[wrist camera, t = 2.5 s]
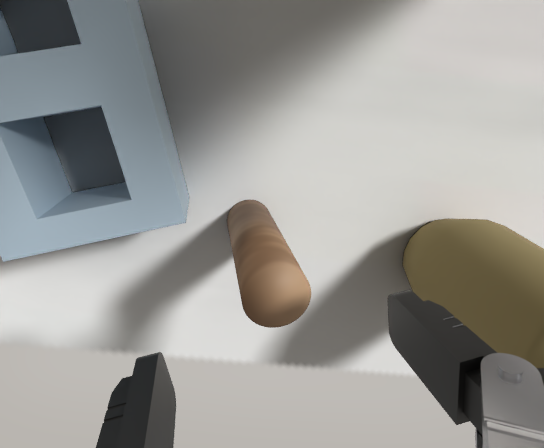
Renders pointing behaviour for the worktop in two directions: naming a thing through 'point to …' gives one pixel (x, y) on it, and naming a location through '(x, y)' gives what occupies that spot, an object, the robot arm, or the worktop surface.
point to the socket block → (121, 122)
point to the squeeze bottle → (483, 281)
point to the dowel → (265, 267)
